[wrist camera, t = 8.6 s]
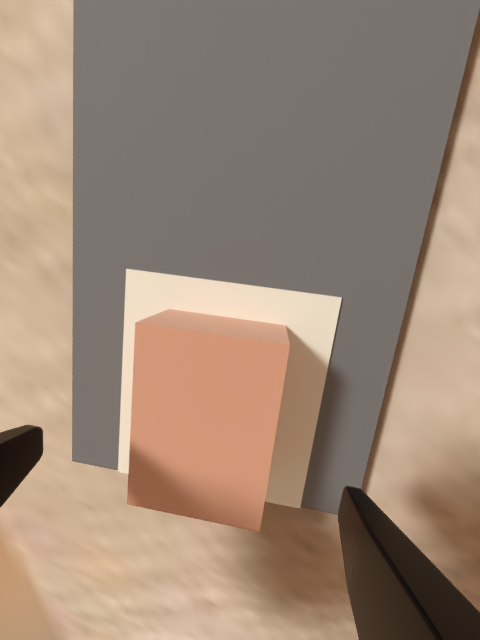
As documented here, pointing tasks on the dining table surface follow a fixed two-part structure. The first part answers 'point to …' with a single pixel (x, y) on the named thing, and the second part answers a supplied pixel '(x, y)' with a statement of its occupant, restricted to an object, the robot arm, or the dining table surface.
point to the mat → (258, 201)
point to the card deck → (205, 415)
